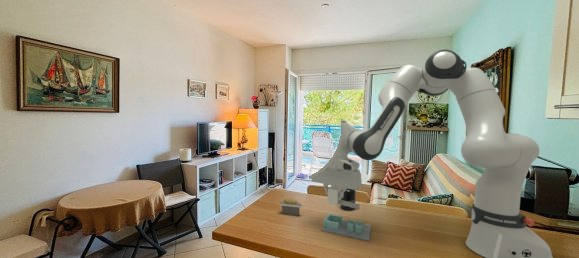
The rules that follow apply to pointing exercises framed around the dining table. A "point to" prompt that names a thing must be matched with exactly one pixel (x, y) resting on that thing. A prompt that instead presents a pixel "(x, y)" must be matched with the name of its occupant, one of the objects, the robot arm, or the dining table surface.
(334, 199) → the cable plug
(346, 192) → the supplement bottle
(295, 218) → the dining table surface
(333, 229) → the board
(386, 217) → the dining table surface
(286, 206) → the potted plant
